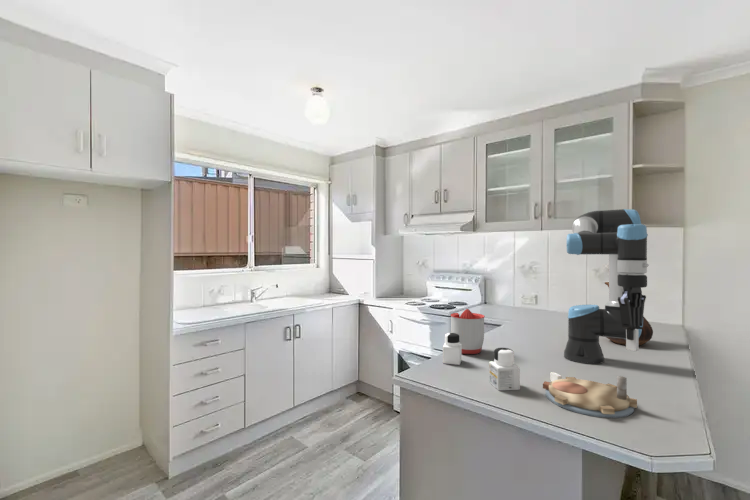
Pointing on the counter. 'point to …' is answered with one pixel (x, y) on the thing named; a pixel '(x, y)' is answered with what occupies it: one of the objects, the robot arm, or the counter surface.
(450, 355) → the medicine bottle
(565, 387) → the index wheel
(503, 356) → the container
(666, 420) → the counter surface
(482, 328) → the citrus juicer
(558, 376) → the wheel base
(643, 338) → the jug
